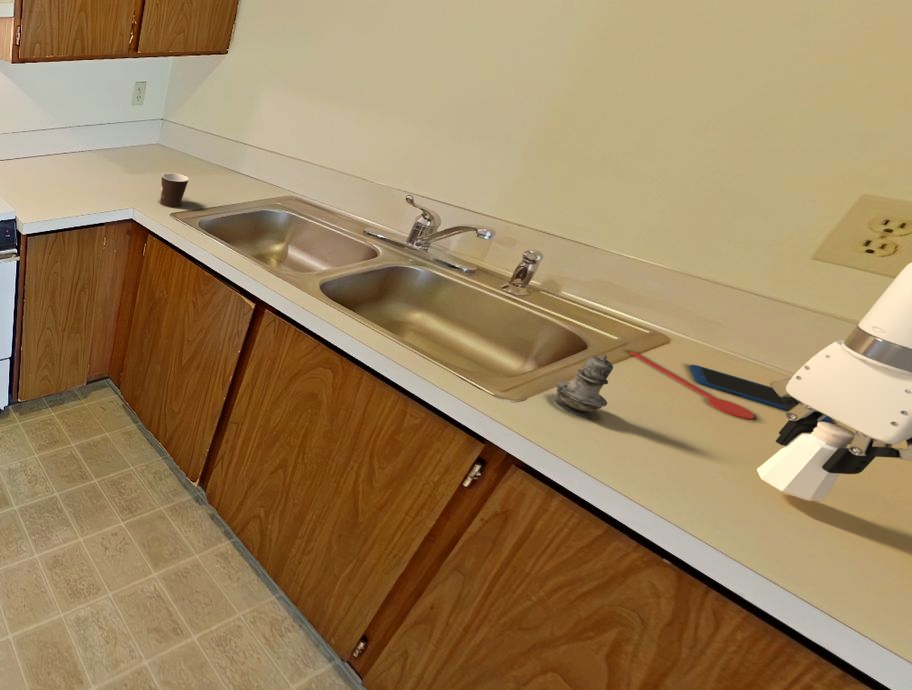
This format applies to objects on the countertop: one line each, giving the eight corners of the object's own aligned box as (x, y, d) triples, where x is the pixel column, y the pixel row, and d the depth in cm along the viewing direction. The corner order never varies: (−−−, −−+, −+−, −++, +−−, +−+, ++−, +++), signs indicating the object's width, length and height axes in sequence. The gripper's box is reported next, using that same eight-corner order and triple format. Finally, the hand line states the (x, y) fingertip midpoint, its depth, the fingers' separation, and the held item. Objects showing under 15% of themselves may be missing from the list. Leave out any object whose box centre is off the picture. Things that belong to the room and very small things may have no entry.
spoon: (762, 421, 87) (764, 419, 87) (732, 419, 87) (734, 417, 87) (644, 355, 103) (645, 352, 103) (619, 353, 103) (621, 351, 103)
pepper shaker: (816, 508, 69) (871, 450, 65) (748, 476, 74) (795, 420, 70) (829, 494, 71) (883, 437, 67) (762, 464, 76) (808, 408, 72)
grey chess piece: (563, 417, 88) (597, 362, 83) (538, 393, 93) (569, 341, 88) (607, 425, 86) (644, 370, 81) (579, 401, 91) (613, 347, 87)
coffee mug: (177, 210, 171) (183, 183, 167) (153, 204, 176) (157, 177, 172) (190, 201, 179) (195, 174, 175) (166, 195, 184) (170, 169, 180)
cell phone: (832, 426, 86) (835, 423, 86) (695, 384, 95) (698, 381, 95) (815, 404, 91) (818, 400, 90) (687, 365, 100) (689, 362, 99)
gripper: (1069, 403, 56) (946, 516, 63) (838, 315, 71) (760, 413, 78) (989, 399, 56) (876, 511, 63) (777, 313, 72) (706, 411, 79)
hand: (813, 456), depth 71 cm, fingers closed on pepper shaker, 3 cm apart
